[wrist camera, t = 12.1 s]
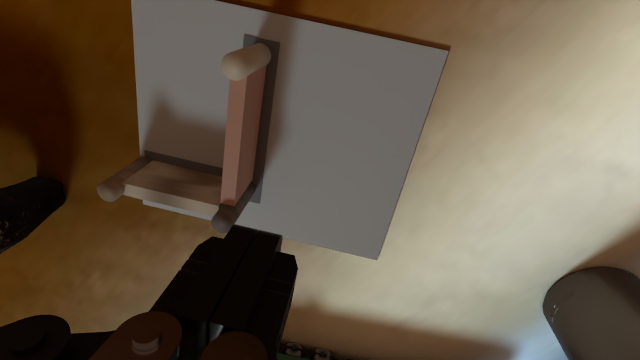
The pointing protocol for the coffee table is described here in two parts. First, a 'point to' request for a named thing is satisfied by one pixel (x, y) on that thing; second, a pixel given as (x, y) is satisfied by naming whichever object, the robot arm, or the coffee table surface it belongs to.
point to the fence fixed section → (175, 190)
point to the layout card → (288, 115)
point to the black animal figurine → (27, 208)
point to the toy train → (302, 353)
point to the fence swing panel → (242, 117)
